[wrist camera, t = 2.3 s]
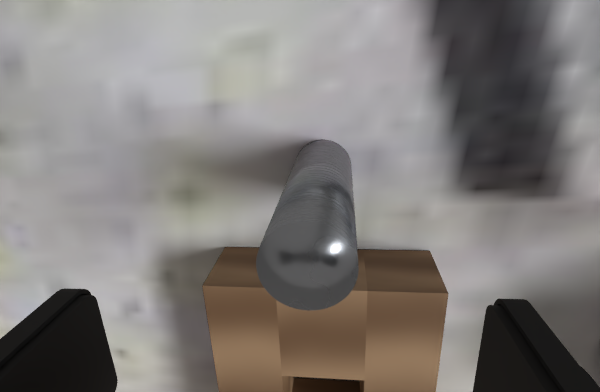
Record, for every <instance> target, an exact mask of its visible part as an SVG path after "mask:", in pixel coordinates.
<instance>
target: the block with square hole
mask: <svg viewBox="0 0 600 392" xmlns="http://www.w3.org/2000/svg"><path fill="white" fill-rule="evenodd" d="M258 250H259V248H252V247H225V248H224V250H223V252H222V253H221V255H220V257H219V258H218V260H217V262H216V263H215V265H214V267H213V269H212V270H211V272H210V274H209V275H208V277H207V279H206V281H205V282H204V284H203V286H202V287H203V293H204V300H205V306H206V312H207V319H208V325H209V331H210V338H211V344H212V350H213V357H214V363H215V369H216V376H217V382H218V388H219V392H436V385H437V377H438V369H439V362H440V354H441V346H442V338H443V331H444V323H445V315H446V307H447V299H448V292H447V289H446V287H445V285H444V283H443V280H442V278H441V276H440V273H439V271H438V269H437V266H436V264H435V262H434V259H433V257H432V255H431V252H430V251H412V250H359V249H357V253H358V267H359V271H358V278H357V281H356V284H355V286H354V288H353V289H352V291H351V292H350V293H349V295H348V296H347V297H346V298H345V299H343V300H342V301H341V302H339V303H338V304H336V305H334V306H331V307H329V308H325V309H321V310H309V311H308V310H300V309H295V308H292V307H289V306H287V305H284V304H282V303H281V302H279V301H277V300H276V299H275V298H273V297H272V296H271V295H270V294H269V293H268V292H267V291H266V290H265V288H264V287H263V285H262V284H261V282H260V280H259V277H258V274H257V269H256V258H257V254H258ZM294 377H312V378H329V379H347V380H360V382H356V381H338V380H321V379H304V378H294Z"/></svg>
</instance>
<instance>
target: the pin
mask: <svg viewBox="0 0 600 392" xmlns="http://www.w3.org/2000/svg"><path fill="white" fill-rule="evenodd" d="M256 269H257V274H258V277H259V280H260V282H261V284H262V285H263V287H264V288H265V290H266V291H267V292H268V293H269V294H270V295H271V296H272V297H273V298H275V299H276V300H277V301H279V302H281V303H282V304H284V305H287V306H289V307H292V308H295V309H300V310H308V311H309V310H321V309H325V308H329V307H331V306H334V305H336V304H338V303H339V302H341V301H342V300H343V299H345V298H346V297H347V296H348V295H349V293H350V292H351V291H352V289H353V288H354V286H355V284H356V281H357V278H358V271H359V267H358V253H357V239H356V225H355V211H354V198H353V184H352V170H351V161H350V158H349V155H348V153H347V152H346V151H345V149H344V148H343V147H342V146H340V145H339V144H337V143H335V142H333V141H329V140H317V141H314V142H311V143H309V144H307V145H306V146H305V147H304V148H303V149H302V150H301V151H300V153H299V154H298V156H297V159H296V161H295V164H294V166H293V168H292V171H291V173H290V176H289V178H288V180H287V183H286V185H285V188H284V190H283V192H282V195H281V197H280V200H279V202H278V204H277V207H276V209H275V212H274V214H273V216H272V219H271V221H270V224H269V226H268V228H267V231H266V233H265V236H264V238H263V241H262V243H261V245H260V248H259V250H258V254H257V258H256Z"/></svg>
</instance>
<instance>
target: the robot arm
mask: <svg viewBox="0 0 600 392" xmlns="http://www.w3.org/2000/svg"><path fill="white" fill-rule="evenodd" d="M116 387H117V375H116V372H115V368H114V364H113V360H112V356H111V352H110V349H109V345H108V341H107V337H106V333H105V329H104V326H103V322H102V318H101V314H100V310H99V307H98V303H97V300H96V298H95V297H94V296H92V295H91V293H90V292H89V291H88V290H86V289H61V290H59V291H57V292H56V293H55V294H54V295H52V296H51V297H50V298H49V299H48V300H47V301H45V302H44V303H43V304H42V305H41V306H39V307H38V308H37V309H36V310H35V311H33V312H32V313H31V314H30V315H29V316H27V317H26V318H25V319H24V320H23V321H21V322H20V323H19V324H18V325H17V326H15V327H14V328H13V329H12V330H11V331H9V332H8V333H7V334H6V335H5V336H3V337H2V338H1V339H0V392H115V390H116ZM473 392H600V387H599V386H598V385H597V384H596V382H595V381H594V380H593V379H592V377H591V376H590V375H589V374H588V373H587V372H586V371H585V370H584V369H583V368H582V367H580V366H579V365H578V363H577V362H576V361H575V360H574V358H573V357H572V356H571V355H570V353H569V352H568V351H567V349H566V348H565V347H564V346H563V344H562V343H561V342H560V341H559V339H558V338H557V337H556V336H555V334H554V333H553V332H552V331H551V329H550V328H549V327H548V326H547V324H546V323H545V322H544V320H543V319H542V318H541V317H540V315H539V314H538V313H537V312H536V310H535V309H534V308H533V307H532V305H531V304H530V303H529V302H528V301H527V300H524V299H497V300H496V301H495V303H494V305H489V306H488V307H487V309H486V314H485V320H484V326H483V333H482V339H481V345H480V351H479V357H478V363H477V370H476V376H475V382H474V388H473Z"/></svg>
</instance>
